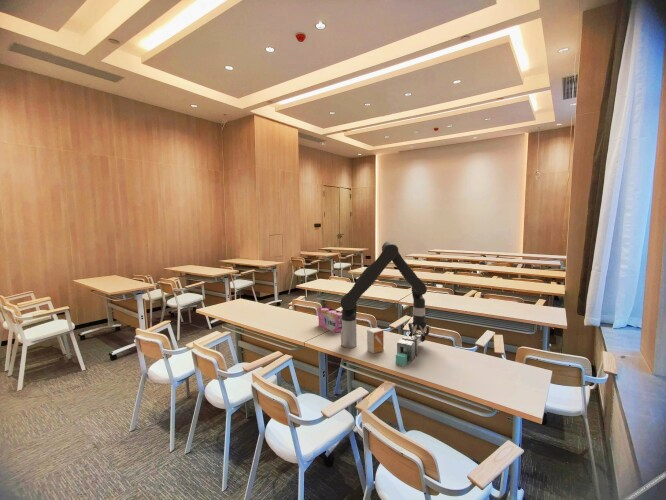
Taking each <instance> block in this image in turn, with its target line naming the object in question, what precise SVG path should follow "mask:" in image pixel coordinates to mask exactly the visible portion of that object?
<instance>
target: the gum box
mask: <svg viewBox="0 0 666 500" xmlns="http://www.w3.org/2000/svg"><path fill="white" fill-rule="evenodd" d="M317 311H318V313H317V314H318V318H317V319H318V326H320V327H321V326H322V327H321V328H324V329H327V330H329V331H331V332H334V333H341V330H342V311H341V310H337V309H334V308H330V307H327V306H323V307H318V308H317Z"/></svg>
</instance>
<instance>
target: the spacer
mask: <svg viewBox="0 0 666 500" xmlns="http://www.w3.org/2000/svg"><path fill="white" fill-rule="evenodd" d="M395 364H396V365H400V366H403V365H404V366H403V367H405V366H406V365H407V364H408V361H407V354H403V353H399V352H398V353H397V352H396V354H395Z"/></svg>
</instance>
